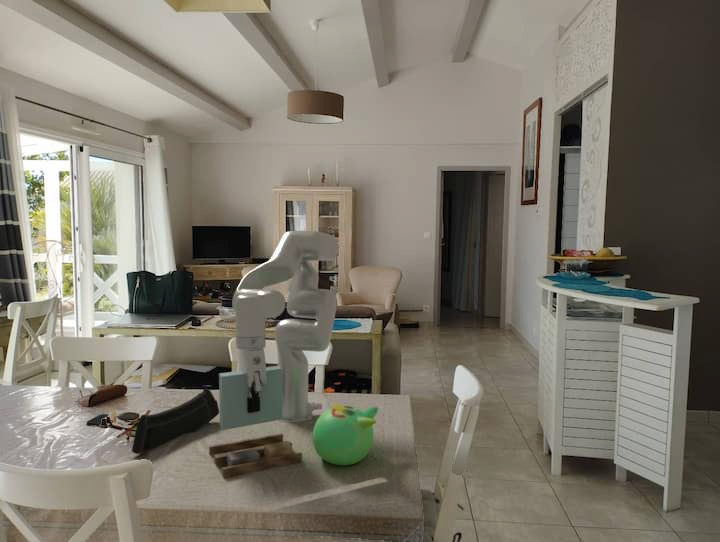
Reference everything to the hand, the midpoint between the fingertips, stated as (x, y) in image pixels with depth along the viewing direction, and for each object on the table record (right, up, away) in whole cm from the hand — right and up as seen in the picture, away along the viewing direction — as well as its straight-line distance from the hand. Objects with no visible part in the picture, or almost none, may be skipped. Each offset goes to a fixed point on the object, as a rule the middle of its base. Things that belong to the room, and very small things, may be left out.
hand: (251, 408), depth 139 cm
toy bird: (+25, -13, -2) cm, 28 cm away
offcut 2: (+8, -12, -4) cm, 15 cm away
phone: (-46, -10, +22) cm, 52 cm away
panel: (0, -4, 0) cm, 4 cm away
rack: (+2, -13, -3) cm, 13 cm away
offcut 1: (0, -12, -8) cm, 15 cm away
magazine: (-23, -11, +12) cm, 28 cm away
